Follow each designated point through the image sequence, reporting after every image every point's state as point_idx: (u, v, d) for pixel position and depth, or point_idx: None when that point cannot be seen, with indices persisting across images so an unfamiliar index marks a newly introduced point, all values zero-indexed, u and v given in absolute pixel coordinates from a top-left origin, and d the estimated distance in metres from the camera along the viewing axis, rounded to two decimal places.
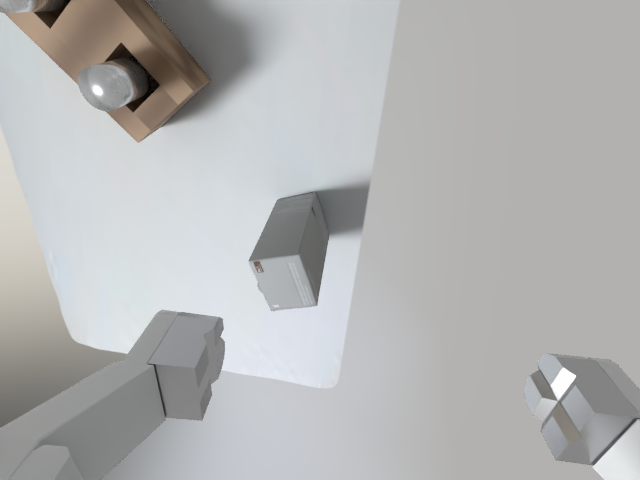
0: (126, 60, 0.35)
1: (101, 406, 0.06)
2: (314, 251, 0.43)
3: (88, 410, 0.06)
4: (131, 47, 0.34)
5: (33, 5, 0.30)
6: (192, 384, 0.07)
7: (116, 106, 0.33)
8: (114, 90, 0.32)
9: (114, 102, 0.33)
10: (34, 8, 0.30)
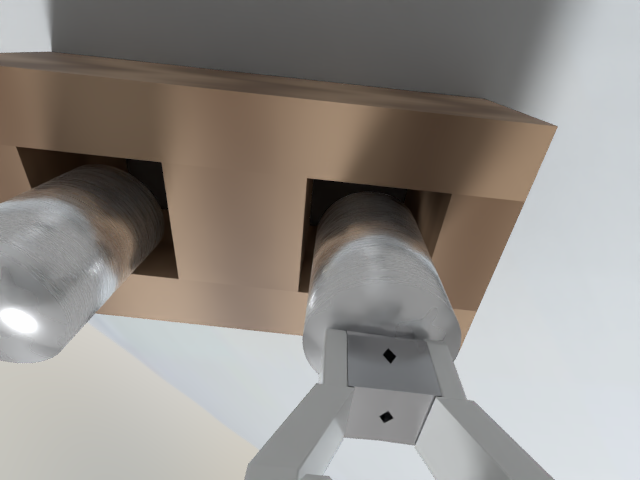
0: (344, 205, 0.12)
1: (326, 431, 0.06)
2: None
3: (322, 437, 0.06)
4: (336, 167, 0.11)
5: (104, 271, 0.10)
6: (384, 406, 0.07)
7: (453, 354, 0.09)
8: (427, 316, 0.08)
9: None
10: (114, 274, 0.10)
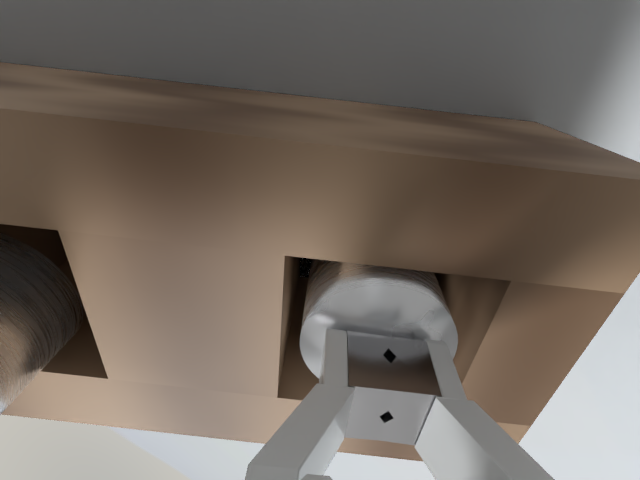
0: None
1: (326, 431, 0.06)
2: None
3: (322, 437, 0.06)
4: (329, 242, 0.07)
5: None
6: (385, 406, 0.07)
7: None
8: (423, 319, 0.08)
9: None
10: None
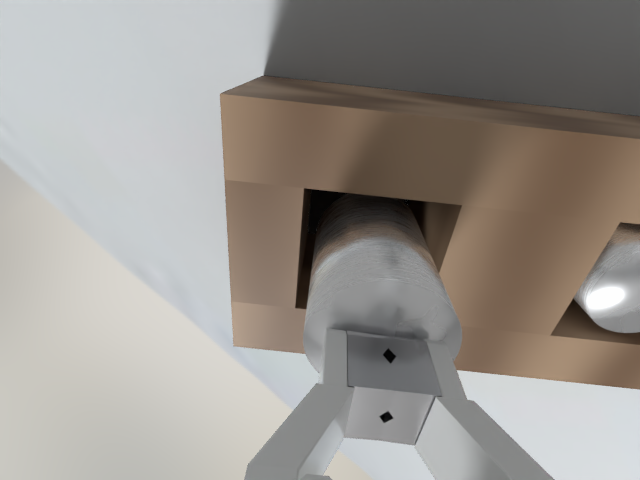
0: None
1: (326, 431, 0.06)
2: None
3: (321, 437, 0.06)
4: None
5: None
6: (384, 406, 0.07)
7: None
8: None
9: None
10: None
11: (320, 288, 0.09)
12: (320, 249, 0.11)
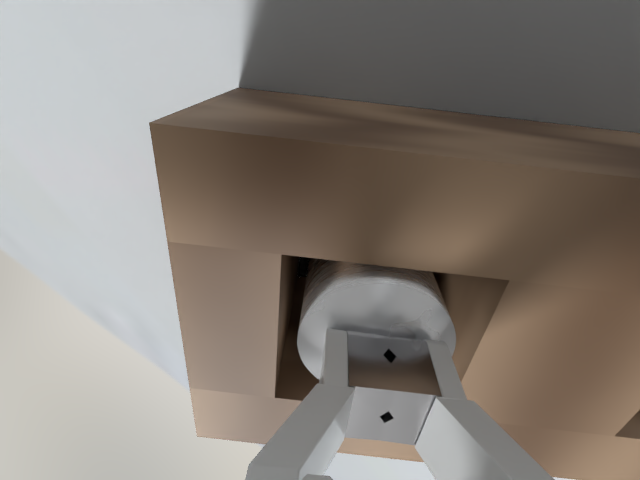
0: None
1: (327, 431, 0.06)
2: None
3: (322, 437, 0.06)
4: None
5: None
6: (385, 406, 0.07)
7: None
8: None
9: None
10: None
11: (314, 290, 0.09)
12: None
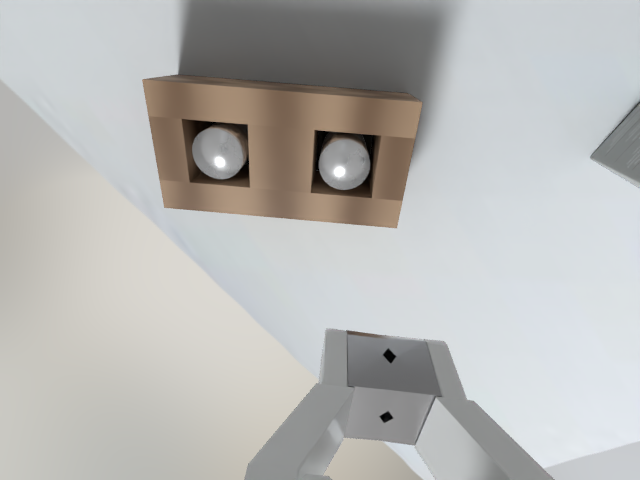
0: None
1: (326, 431, 0.06)
2: None
3: (322, 437, 0.06)
4: (327, 124, 0.25)
5: (247, 149, 0.28)
6: (384, 406, 0.07)
7: (368, 168, 0.26)
8: (357, 152, 0.26)
9: (364, 165, 0.26)
10: None
11: None
12: None
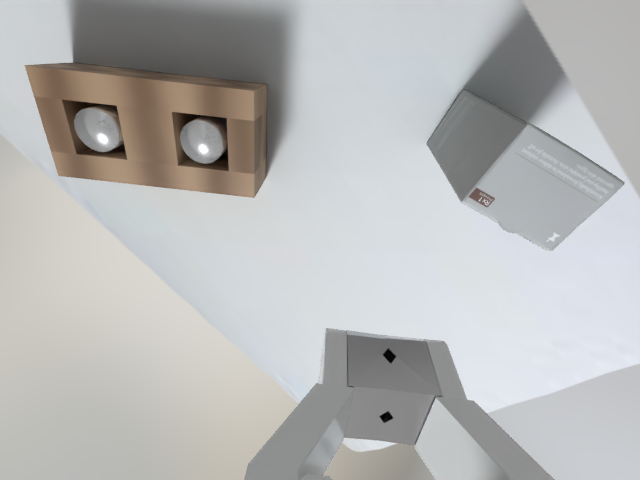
0: None
1: (326, 431, 0.06)
2: None
3: (322, 436, 0.06)
4: (181, 107, 0.30)
5: None
6: (384, 406, 0.07)
7: (221, 145, 0.32)
8: (210, 131, 0.31)
9: (217, 142, 0.32)
10: None
11: None
12: None
